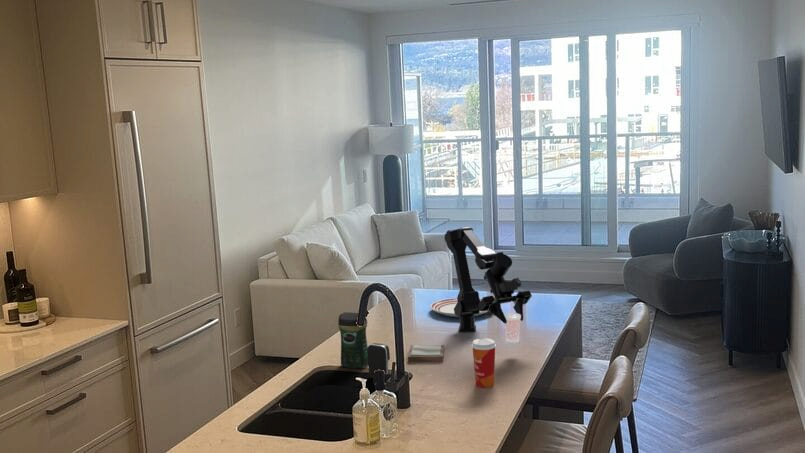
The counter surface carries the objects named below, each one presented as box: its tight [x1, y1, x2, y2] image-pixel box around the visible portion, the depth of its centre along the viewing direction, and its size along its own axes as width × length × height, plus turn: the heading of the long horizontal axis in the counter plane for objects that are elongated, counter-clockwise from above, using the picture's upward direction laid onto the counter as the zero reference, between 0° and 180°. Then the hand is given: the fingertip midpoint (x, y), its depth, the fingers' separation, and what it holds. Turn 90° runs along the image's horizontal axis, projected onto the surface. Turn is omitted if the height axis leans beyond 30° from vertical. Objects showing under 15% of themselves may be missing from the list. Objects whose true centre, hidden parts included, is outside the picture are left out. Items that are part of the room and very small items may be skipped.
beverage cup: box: [503, 301, 521, 343], centre depth 269 cm, size 6×6×14 cm
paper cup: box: [471, 337, 497, 389], centre depth 244 cm, size 8×8×14 cm
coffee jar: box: [337, 311, 369, 369], centre depth 267 cm, size 10×8×19 cm
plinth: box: [407, 344, 445, 363], centre depth 274 cm, size 12×12×2 cm
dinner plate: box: [429, 297, 489, 318], centre depth 326 cm, size 28×27×3 cm
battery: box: [367, 342, 391, 379], centre depth 254 cm, size 7×4×11 cm, turn 63°
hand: (514, 321), depth 267 cm, fingers closed on beverage cup, 6 cm apart
